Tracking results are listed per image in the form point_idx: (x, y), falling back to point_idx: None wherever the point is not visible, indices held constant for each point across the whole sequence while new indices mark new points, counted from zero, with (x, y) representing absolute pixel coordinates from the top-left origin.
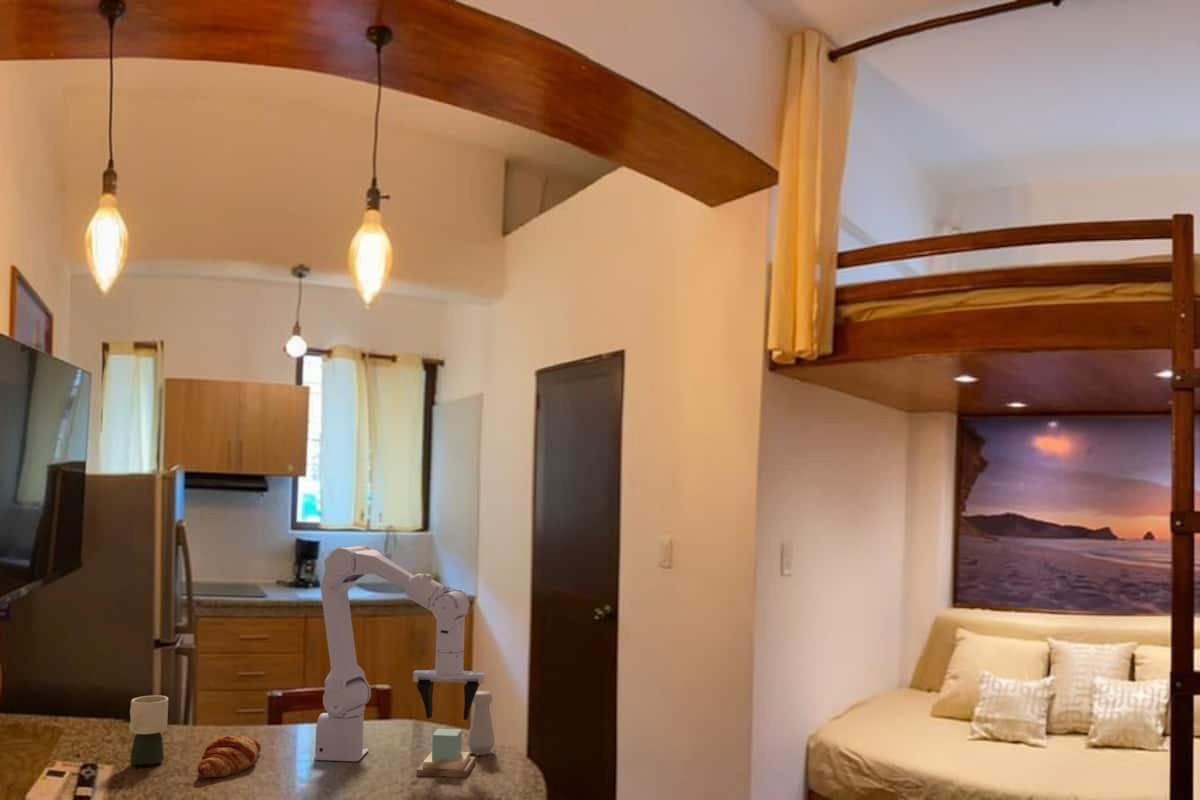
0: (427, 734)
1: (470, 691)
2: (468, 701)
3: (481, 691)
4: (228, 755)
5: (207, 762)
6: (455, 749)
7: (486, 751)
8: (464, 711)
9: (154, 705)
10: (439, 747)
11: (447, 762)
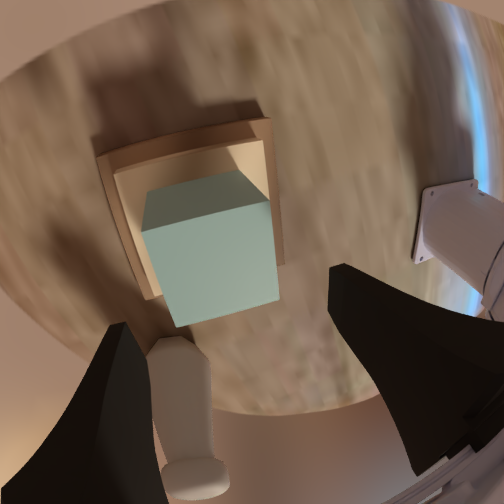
0: (324, 382)
1: (31, 487)
2: (73, 416)
3: (205, 496)
4: None
5: None
6: (150, 206)
7: (150, 350)
8: (110, 353)
9: None
10: (220, 190)
11: (171, 164)
